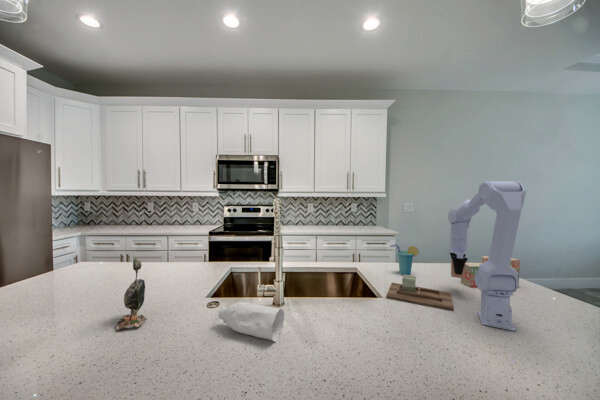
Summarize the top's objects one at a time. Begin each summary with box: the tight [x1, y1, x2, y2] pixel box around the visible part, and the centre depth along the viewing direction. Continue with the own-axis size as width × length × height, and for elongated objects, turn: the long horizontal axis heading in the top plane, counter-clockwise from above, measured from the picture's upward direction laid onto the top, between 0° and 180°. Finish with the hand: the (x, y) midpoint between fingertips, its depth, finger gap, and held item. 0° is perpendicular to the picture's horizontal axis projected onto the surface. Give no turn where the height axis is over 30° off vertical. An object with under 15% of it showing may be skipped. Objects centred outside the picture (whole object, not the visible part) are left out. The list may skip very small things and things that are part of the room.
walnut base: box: [385, 275, 455, 312], centre depth 98 cm, size 16×22×7 cm
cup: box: [389, 243, 420, 276], centre depth 125 cm, size 14×8×15 cm, turn 94°
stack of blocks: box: [460, 255, 521, 289], centre depth 111 cm, size 21×6×12 cm, turn 91°
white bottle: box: [217, 301, 285, 342], centre depth 71 cm, size 8×19×8 cm, turn 69°
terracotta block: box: [450, 258, 465, 279], centre depth 101 cm, size 4×4×6 cm
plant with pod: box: [115, 257, 147, 331], centre depth 75 cm, size 8×11×20 cm
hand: (457, 272), depth 101 cm, fingers closed on terracotta block, 4 cm apart
